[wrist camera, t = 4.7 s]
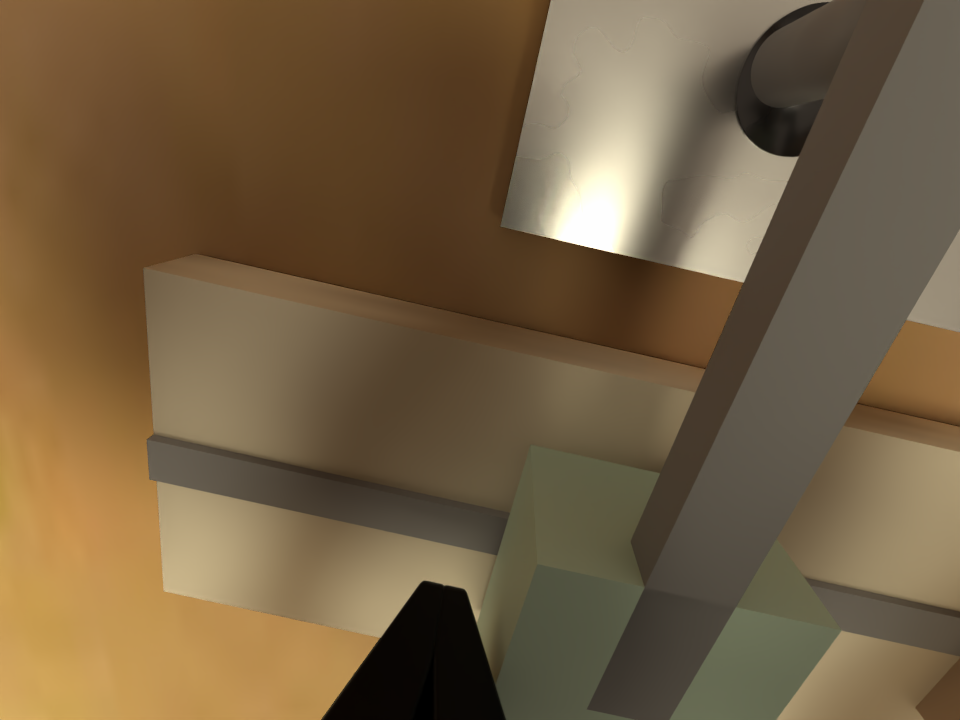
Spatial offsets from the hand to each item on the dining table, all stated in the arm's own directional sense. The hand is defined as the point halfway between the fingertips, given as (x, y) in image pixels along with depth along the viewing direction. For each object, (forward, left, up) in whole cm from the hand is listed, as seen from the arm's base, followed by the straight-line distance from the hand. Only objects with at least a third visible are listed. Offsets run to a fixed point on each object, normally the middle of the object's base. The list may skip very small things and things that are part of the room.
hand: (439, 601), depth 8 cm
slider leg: (-3, -4, -2) cm, 5 cm away
